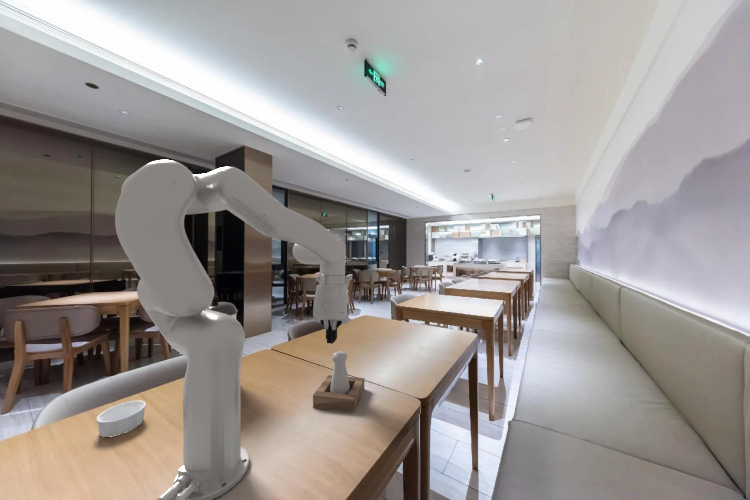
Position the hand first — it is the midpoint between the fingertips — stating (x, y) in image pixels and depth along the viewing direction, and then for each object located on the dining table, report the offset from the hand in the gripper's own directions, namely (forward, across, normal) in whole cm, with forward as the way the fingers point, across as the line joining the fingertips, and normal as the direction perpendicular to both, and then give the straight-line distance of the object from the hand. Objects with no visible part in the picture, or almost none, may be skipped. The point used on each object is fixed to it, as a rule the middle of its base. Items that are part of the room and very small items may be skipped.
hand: (331, 342), depth 78 cm
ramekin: (+18, -47, -22) cm, 55 cm away
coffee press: (+17, -37, -3) cm, 41 cm away
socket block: (+17, +3, +1) cm, 17 cm away
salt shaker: (+16, +3, +1) cm, 17 cm away
